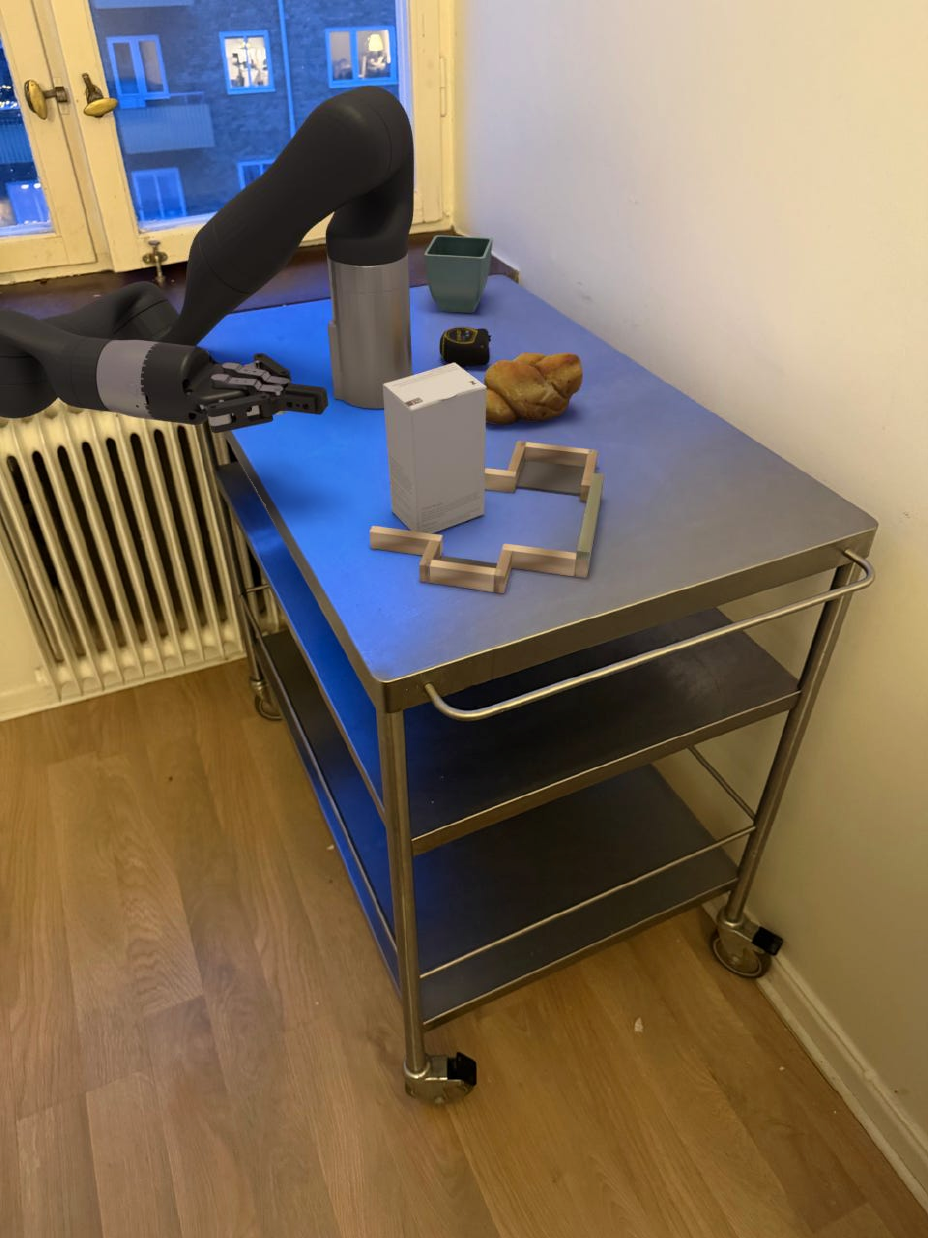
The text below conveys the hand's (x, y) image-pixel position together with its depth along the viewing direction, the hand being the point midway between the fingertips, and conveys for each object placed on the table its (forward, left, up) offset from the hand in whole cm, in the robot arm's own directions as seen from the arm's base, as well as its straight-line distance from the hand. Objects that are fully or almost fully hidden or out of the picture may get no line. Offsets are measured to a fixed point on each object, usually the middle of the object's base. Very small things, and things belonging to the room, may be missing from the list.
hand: (324, 401), depth 84 cm
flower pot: (+1, +55, -12) cm, 57 cm away
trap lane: (+16, +2, -12) cm, 20 cm away
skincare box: (+11, 0, -12) cm, 16 cm away
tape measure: (+6, +38, -12) cm, 40 cm away
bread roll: (+16, +25, -12) cm, 32 cm away
